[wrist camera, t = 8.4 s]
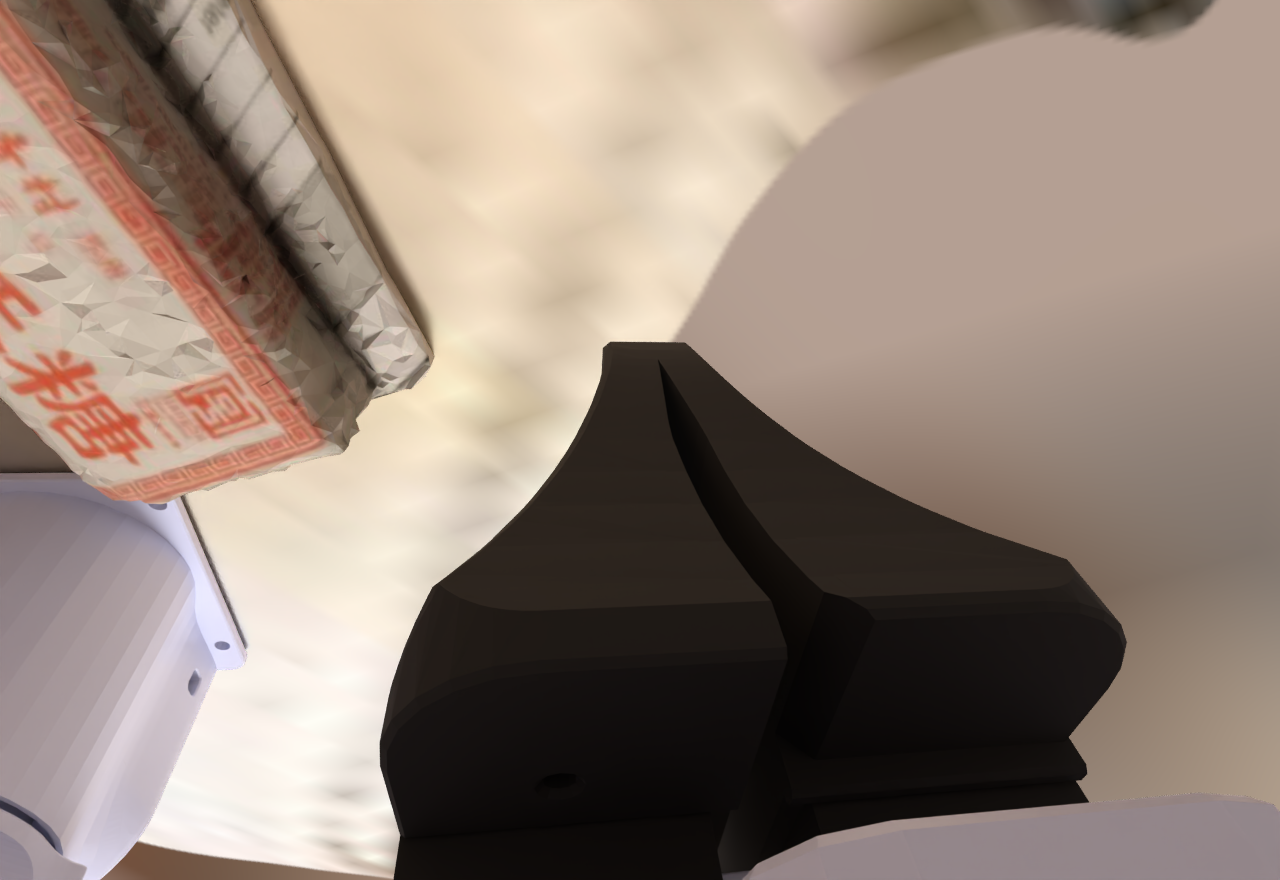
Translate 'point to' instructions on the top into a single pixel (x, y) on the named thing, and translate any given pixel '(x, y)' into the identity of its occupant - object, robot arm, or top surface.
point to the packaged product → (180, 252)
